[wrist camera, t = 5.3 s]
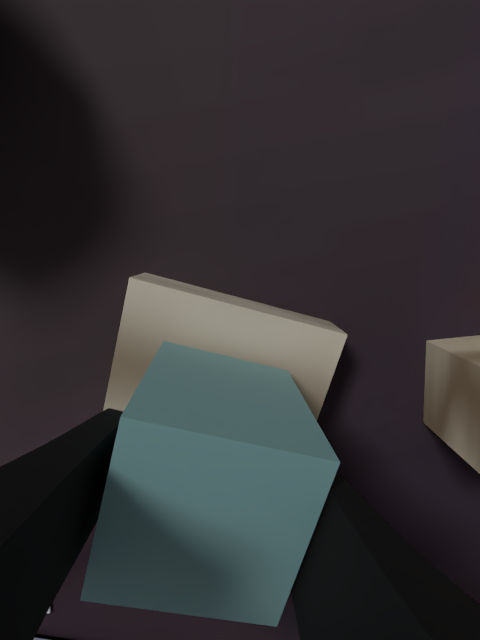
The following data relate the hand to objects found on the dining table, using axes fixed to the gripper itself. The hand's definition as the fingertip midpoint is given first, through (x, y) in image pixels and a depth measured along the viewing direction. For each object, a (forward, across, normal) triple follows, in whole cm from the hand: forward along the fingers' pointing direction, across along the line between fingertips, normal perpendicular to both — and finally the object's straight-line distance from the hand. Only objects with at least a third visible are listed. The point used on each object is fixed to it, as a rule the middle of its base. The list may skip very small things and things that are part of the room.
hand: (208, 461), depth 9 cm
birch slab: (+6, 0, 0) cm, 6 cm away
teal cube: (+3, 0, 0) cm, 3 cm away
